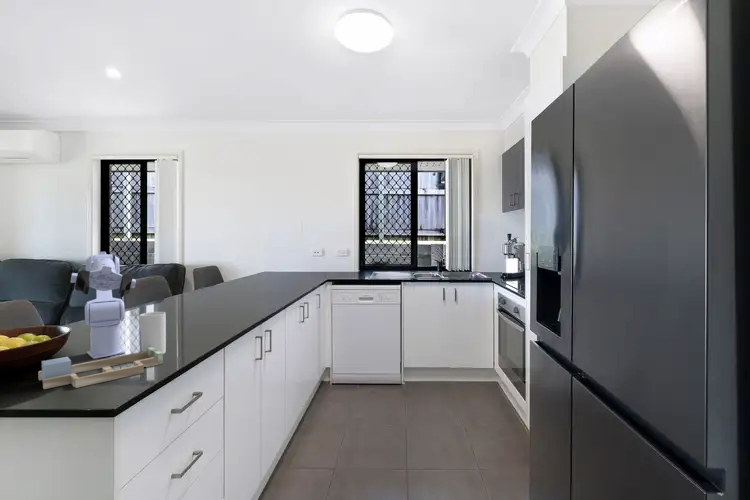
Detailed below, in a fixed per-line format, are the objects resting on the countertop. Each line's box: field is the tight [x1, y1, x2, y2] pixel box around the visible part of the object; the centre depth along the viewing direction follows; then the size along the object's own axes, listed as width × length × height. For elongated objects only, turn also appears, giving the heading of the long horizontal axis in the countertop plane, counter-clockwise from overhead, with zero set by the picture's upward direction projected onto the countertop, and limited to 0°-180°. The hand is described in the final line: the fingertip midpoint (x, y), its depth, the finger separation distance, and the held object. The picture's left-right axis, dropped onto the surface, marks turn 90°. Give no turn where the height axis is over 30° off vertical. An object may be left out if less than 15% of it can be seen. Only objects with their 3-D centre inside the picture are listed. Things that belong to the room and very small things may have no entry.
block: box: [41, 356, 72, 383], centre depth 97 cm, size 5×5×5 cm
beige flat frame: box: [37, 347, 164, 390], centre depth 102 cm, size 14×25×3 cm, turn 135°
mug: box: [139, 311, 167, 355], centre depth 121 cm, size 10×7×12 cm, turn 20°
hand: (105, 292), depth 102 cm, fingers open, 7 cm apart
